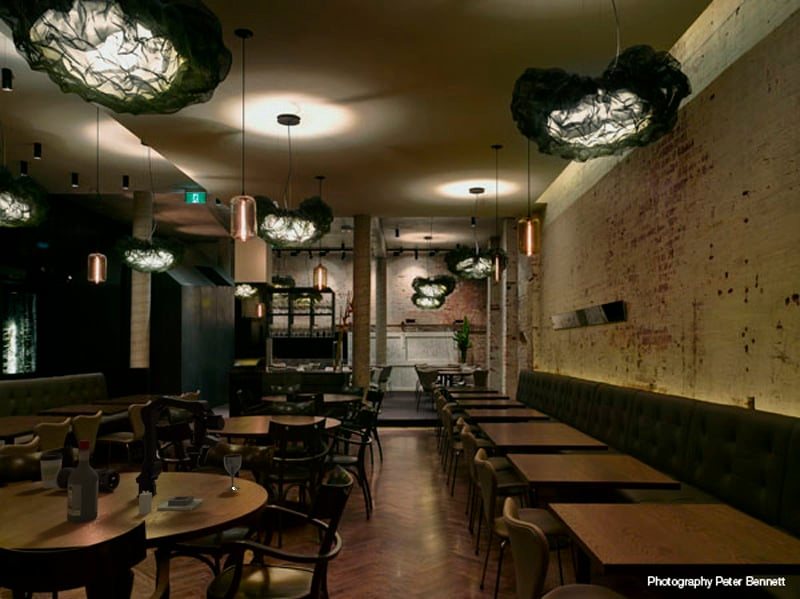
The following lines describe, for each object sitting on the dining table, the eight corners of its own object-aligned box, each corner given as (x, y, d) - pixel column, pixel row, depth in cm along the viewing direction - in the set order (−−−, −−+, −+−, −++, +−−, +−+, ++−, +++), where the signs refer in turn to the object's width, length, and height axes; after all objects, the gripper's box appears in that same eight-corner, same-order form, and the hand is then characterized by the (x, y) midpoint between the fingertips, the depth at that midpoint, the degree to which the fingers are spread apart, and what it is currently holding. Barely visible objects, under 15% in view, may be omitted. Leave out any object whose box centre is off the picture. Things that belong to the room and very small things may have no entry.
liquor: (89, 515, 243) (91, 438, 245) (99, 519, 237) (101, 440, 239) (64, 520, 236) (66, 440, 238) (75, 524, 230) (77, 443, 232)
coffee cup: (33, 488, 288) (34, 456, 289) (50, 484, 297) (51, 452, 298) (50, 489, 285) (51, 457, 286) (67, 485, 295) (68, 453, 296)
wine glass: (230, 491, 280) (231, 458, 281) (219, 489, 284) (220, 456, 285) (244, 488, 286) (245, 455, 287) (234, 485, 291) (234, 453, 292)
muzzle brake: (106, 495, 275) (107, 471, 276) (52, 492, 280) (52, 469, 281) (120, 490, 284) (120, 467, 285) (67, 487, 290) (68, 465, 290)
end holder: (157, 510, 249) (157, 502, 249) (171, 501, 263) (171, 494, 263) (191, 510, 248) (191, 502, 249) (203, 501, 262) (203, 494, 263)
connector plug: (138, 514, 244) (139, 492, 244) (142, 511, 247) (143, 490, 248) (147, 514, 243) (147, 492, 244) (151, 511, 247) (151, 490, 248)
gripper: (211, 433, 259) (210, 470, 258) (225, 427, 278) (224, 462, 277) (185, 433, 260) (184, 470, 259) (200, 426, 278) (199, 461, 277)
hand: (199, 466), depth 268 cm, fingers open, 9 cm apart
